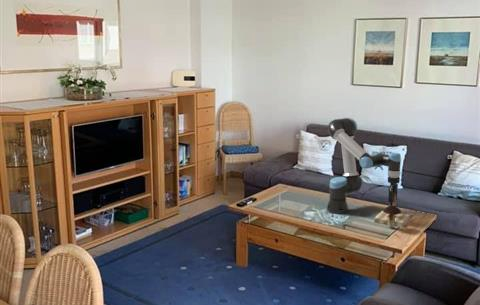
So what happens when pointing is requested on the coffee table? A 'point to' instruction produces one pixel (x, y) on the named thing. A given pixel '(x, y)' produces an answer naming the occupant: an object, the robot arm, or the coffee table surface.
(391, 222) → the decorative mushroom
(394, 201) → the peg
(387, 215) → the board
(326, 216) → the coffee table surface
